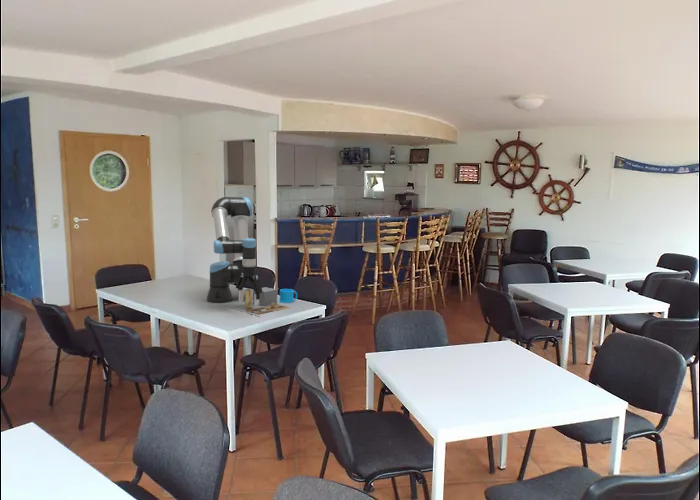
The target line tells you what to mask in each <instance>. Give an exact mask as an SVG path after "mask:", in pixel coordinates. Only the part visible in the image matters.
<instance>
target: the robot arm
mask: <svg viewBox="0 0 700 500" xmlns="http://www.w3.org/2000/svg"><path fill="white" fill-rule="evenodd" d="M227 216H229V217H230V219H231V220H232V222H233V237H234V238H233V239H232V240H231V239H230V238H231V237H230V232H229V231H230V230H229V225H228V218H227ZM251 216H253V206H252V202H251V199H250V198H249V197H244V196H241V197H240V196H238V197H237V196H222V197H220V198H219V199H217V200H216V201H215V202H214V203H213V205H212V207H211V217H212V218H213V222H214V229H215V238H216V239H215V240H214V241H213V253H215V254H220V255H222V254H223V255H225V254H227V255H228V254H234V259H233V260H232V263H230V261H224V260H223V261H217V262H214V263H211V264H210V266H209V289H208V292H207V295H206V302H210V303H219V304H220V303H221V304H222V303H230V302H232V300H233V295H232V291H231V287H230V284H236V285H235V289H237V293H238V295H237V296H238V302H243V301H244V287H245V285H246V284H247V283H249V284H250V285H251V287H252V290H253V289H254V291H255V295H254V304H253V305H254V306H258V305H259V299H260V293H262V288H263V287H262V285H261V282H260V278H259V275H255V273H257V272H256V271H257V270H256V269H257V266H256V265H257V262H256V261H257V256H256V255H257V239H255V238H252V237H250V238H249V229H248V228H249V225H248V221H249V220H250V217H251ZM259 306H260V305H259Z"/></svg>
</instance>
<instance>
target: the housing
mask: <svg viewBox="0 0 700 500" xmlns="http://www.w3.org/2000/svg"><path fill="white" fill-rule="evenodd" d="M261 288H262V293H260V299H259V306H260V307H266V306H270V305H271V303H275V304H278V289H277V288H276V289H275V288H272V287H271V288H270V287H266V286H264V287H261ZM254 295H255V291H254V289H253V288H252V305H254Z"/></svg>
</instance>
